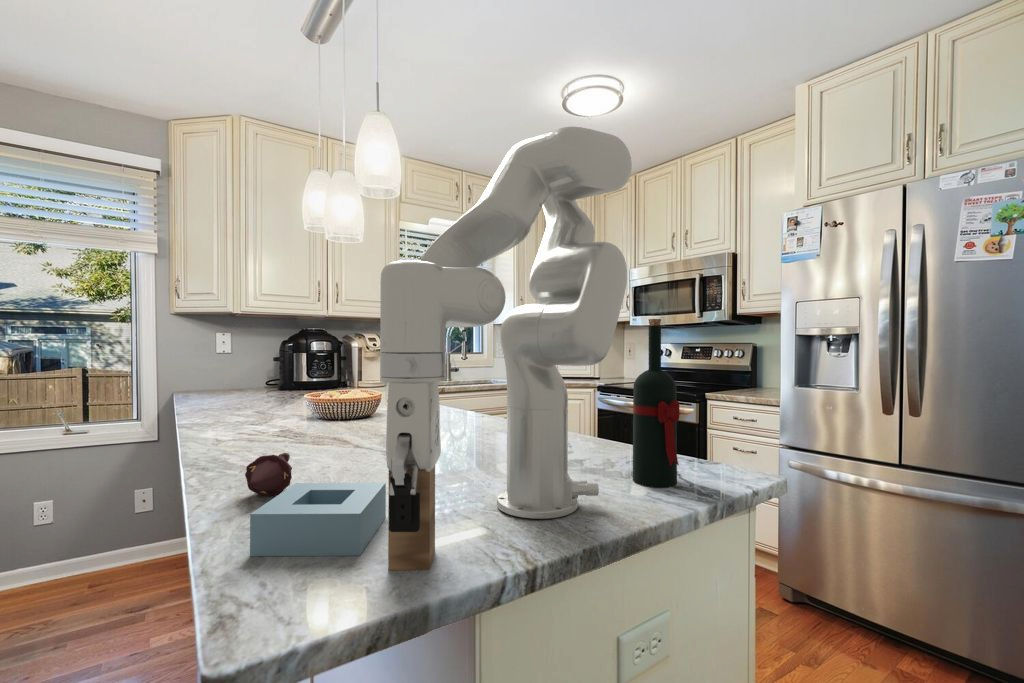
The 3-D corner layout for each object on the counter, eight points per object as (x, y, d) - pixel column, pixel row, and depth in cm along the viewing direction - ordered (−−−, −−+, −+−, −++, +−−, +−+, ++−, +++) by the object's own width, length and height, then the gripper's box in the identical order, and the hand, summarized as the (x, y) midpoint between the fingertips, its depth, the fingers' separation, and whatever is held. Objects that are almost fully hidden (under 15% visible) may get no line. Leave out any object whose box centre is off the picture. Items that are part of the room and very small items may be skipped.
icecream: (283, 466, 75) (309, 453, 90) (234, 455, 74) (268, 444, 89) (270, 512, 74) (298, 491, 89) (220, 501, 74) (257, 482, 88)
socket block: (385, 517, 71) (385, 482, 71) (360, 555, 58) (360, 513, 58) (295, 517, 71) (295, 483, 71) (249, 556, 58) (250, 514, 58)
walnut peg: (435, 552, 59) (435, 453, 60) (429, 569, 55) (429, 462, 55) (396, 552, 59) (397, 453, 59) (388, 570, 55) (388, 462, 55)
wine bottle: (654, 493, 83) (654, 316, 83) (624, 477, 93) (625, 319, 93) (694, 489, 85) (694, 317, 85) (661, 474, 95) (661, 320, 95)
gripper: (435, 372, 49) (435, 545, 49) (452, 365, 66) (452, 492, 66) (359, 372, 48) (359, 545, 48) (396, 365, 66) (396, 492, 66)
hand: (412, 515), depth 57 cm, fingers open, 9 cm apart
